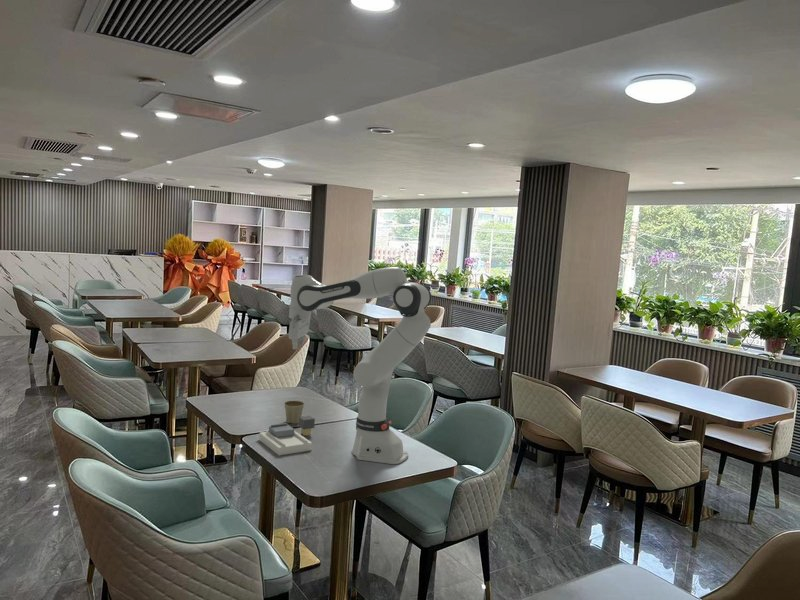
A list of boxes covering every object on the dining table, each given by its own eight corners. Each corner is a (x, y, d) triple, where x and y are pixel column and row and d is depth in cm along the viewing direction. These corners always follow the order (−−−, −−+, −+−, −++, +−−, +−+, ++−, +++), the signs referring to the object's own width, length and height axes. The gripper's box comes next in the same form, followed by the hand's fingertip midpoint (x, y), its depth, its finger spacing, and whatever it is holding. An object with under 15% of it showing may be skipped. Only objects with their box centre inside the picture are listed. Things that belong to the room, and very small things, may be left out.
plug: (313, 435, 249) (314, 418, 249) (303, 436, 247) (303, 420, 246) (308, 431, 253) (309, 415, 253) (298, 433, 251) (298, 416, 250)
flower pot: (292, 426, 260) (293, 407, 259) (278, 421, 265) (279, 402, 265) (308, 422, 267) (309, 403, 267) (293, 417, 273) (294, 399, 272)
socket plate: (311, 450, 231) (312, 440, 231) (278, 455, 223) (279, 445, 223) (290, 435, 247) (291, 426, 247) (259, 439, 239) (259, 430, 239)
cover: (294, 435, 238) (294, 427, 237) (275, 437, 233) (275, 429, 233) (287, 430, 243) (287, 422, 243) (268, 432, 239) (269, 424, 238)
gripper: (301, 317, 229) (299, 352, 231) (313, 312, 250) (310, 343, 251) (285, 316, 230) (283, 350, 231) (298, 310, 250) (296, 342, 251)
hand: (297, 347), depth 241 cm, fingers open, 8 cm apart
